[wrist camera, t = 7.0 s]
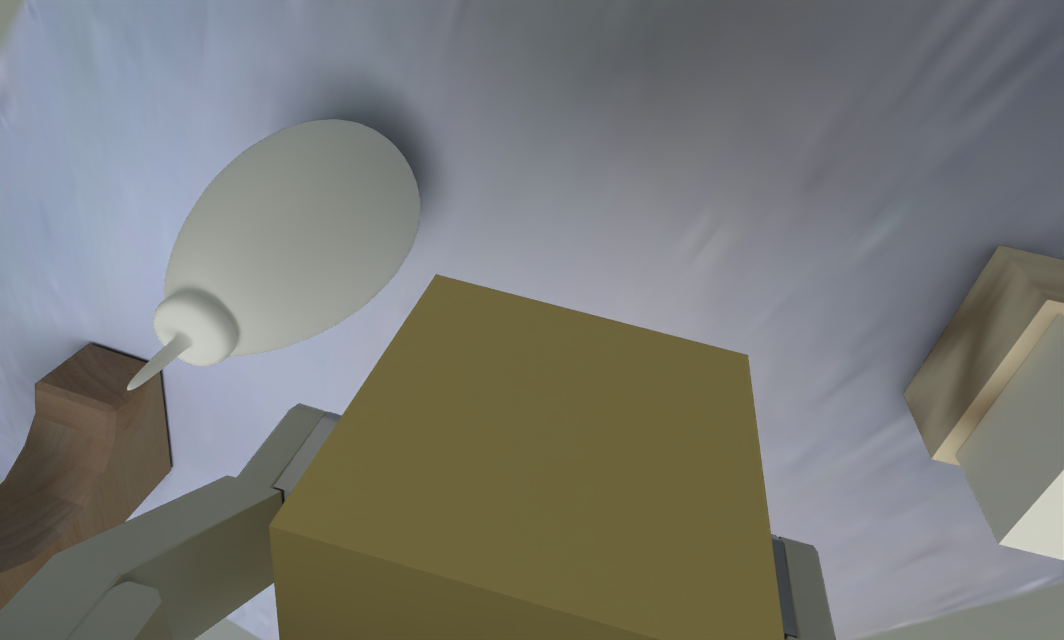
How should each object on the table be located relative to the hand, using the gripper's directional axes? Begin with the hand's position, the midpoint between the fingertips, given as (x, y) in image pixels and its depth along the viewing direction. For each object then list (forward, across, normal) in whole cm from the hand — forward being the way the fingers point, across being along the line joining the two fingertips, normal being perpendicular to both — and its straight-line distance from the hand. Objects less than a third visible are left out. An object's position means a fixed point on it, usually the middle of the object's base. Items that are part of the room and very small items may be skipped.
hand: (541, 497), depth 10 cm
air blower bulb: (+23, +12, +6) cm, 27 cm away
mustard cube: (+2, 0, 0) cm, 2 cm away
